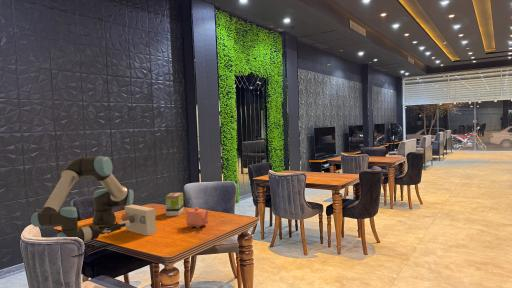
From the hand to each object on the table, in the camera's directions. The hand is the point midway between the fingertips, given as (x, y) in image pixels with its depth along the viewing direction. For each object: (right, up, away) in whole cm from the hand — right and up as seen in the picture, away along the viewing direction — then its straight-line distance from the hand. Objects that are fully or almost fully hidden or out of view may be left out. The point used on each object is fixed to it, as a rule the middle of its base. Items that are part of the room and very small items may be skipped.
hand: (129, 223), depth 210 cm
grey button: (-2, -2, +9) cm, 9 cm away
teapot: (+37, -7, +20) cm, 43 cm away
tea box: (+14, -6, +59) cm, 61 cm away
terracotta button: (-8, -2, +14) cm, 16 cm away
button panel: (+2, -8, +14) cm, 16 cm away
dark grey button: (+6, -1, +6) cm, 9 cm away
